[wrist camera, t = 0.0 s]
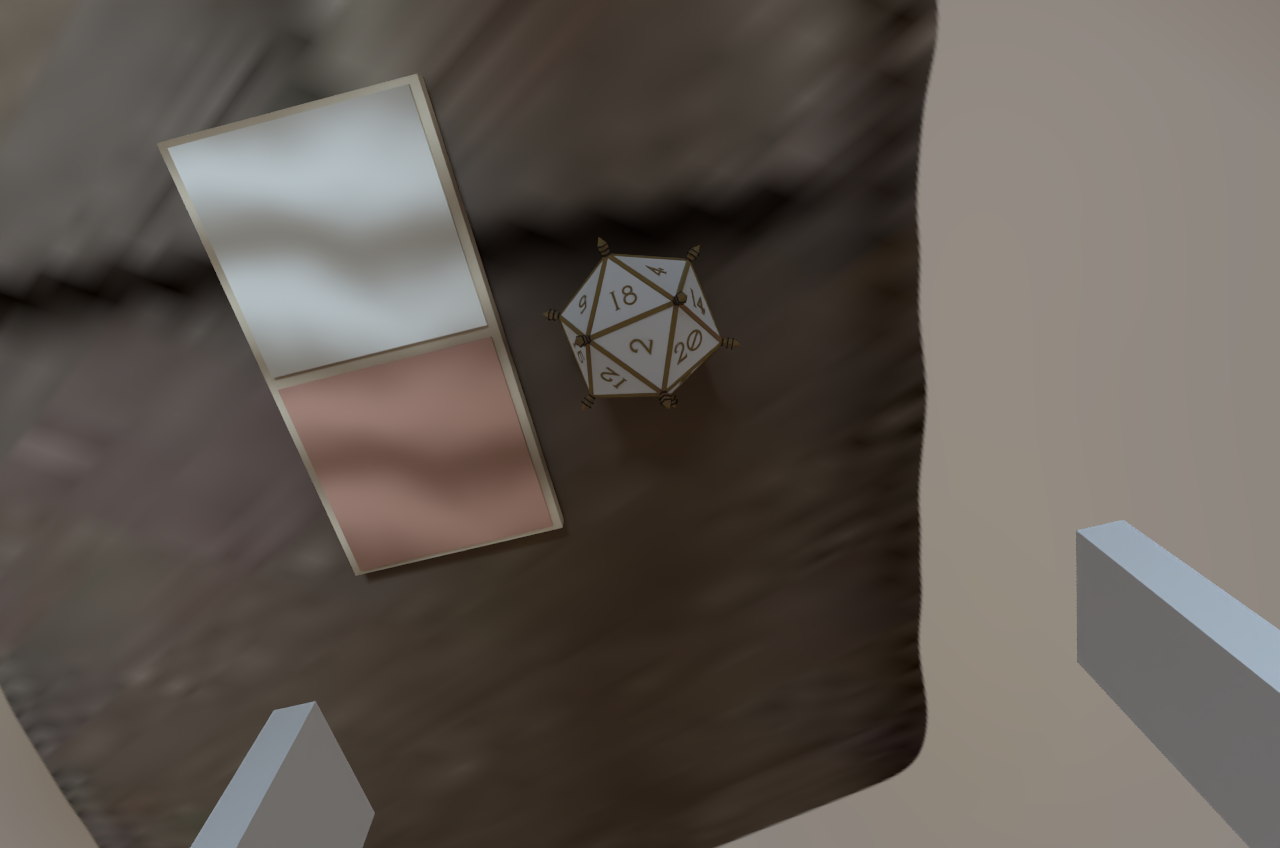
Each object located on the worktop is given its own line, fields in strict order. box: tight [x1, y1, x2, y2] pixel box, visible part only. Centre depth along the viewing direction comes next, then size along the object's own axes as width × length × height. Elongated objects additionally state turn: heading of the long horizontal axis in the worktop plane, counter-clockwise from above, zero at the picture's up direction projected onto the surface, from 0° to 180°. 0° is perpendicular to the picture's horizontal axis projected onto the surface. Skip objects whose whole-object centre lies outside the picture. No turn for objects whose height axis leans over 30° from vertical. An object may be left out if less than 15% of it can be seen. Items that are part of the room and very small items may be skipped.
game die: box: [543, 237, 740, 411], centre depth 34 cm, size 9×8×10 cm
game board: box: [157, 74, 564, 575], centre depth 37 cm, size 25×13×1 cm, turn 14°
